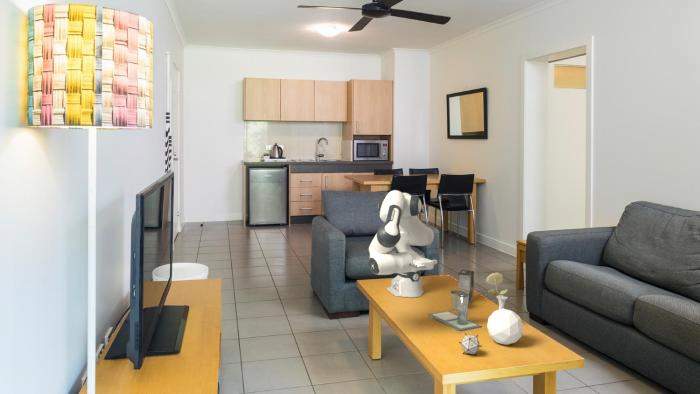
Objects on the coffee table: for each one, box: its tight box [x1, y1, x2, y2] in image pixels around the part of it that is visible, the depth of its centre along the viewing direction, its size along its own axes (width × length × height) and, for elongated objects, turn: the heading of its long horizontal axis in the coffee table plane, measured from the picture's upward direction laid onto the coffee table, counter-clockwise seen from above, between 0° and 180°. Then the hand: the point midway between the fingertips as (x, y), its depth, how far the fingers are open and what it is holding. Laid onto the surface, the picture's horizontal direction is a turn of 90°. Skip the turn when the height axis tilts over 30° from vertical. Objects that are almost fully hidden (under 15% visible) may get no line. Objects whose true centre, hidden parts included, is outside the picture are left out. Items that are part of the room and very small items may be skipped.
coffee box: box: [457, 269, 475, 305], centre depth 275 cm, size 9×6×16 cm
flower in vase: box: [485, 272, 508, 310], centre depth 237 cm, size 13×11×25 cm
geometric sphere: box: [486, 308, 524, 346], centre depth 216 cm, size 14×15×15 cm
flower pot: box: [449, 289, 468, 311], centre depth 262 cm, size 9×9×9 cm
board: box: [427, 310, 483, 332], centre depth 243 cm, size 24×13×1 cm, turn 27°
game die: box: [459, 332, 483, 357], centre depth 204 cm, size 9×8×10 cm
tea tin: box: [457, 293, 469, 325], centre depth 237 cm, size 5×5×14 cm
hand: (429, 259), depth 230 cm, fingers open, 8 cm apart
